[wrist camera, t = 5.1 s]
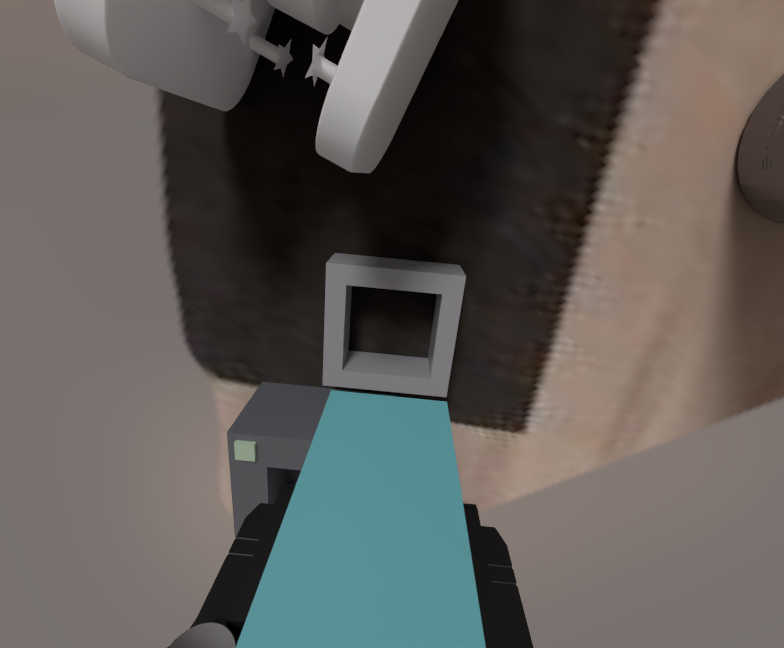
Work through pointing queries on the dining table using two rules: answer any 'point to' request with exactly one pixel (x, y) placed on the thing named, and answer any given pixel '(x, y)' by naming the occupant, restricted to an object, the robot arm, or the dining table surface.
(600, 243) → the dining table surface
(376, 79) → the cable organizer
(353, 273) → the grey square hollow frame
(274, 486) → the port
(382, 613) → the plug
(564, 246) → the dining table surface
